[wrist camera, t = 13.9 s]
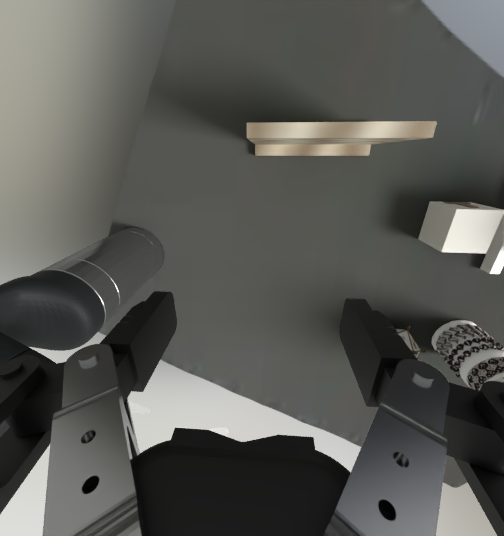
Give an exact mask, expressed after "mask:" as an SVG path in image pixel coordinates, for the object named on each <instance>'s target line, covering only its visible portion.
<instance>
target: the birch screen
mask: <svg viewBox="0 0 504 536" xmlns="http://www.w3.org/2000/svg"><path fill="white" fill-rule="evenodd" d="M436 124H437V121H407V122H269V123H247V139H249V140H250V141H251V142H252V143H254V144H255V156H369V153H370V147H371V144H379V143H388V142H397V141H406V140H415V139H424V138H433V135H434V131H435V128H436Z"/></svg>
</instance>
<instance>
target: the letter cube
mask: <svg viewBox="0 0 504 536" xmlns="http://www.w3.org/2000/svg"><path fill="white" fill-rule="evenodd" d="M503 214H504V210H502V209H498V208H494V207H489V206H485V205H481V204H476V203H472V202H434V201H430V202H429V206H428V209H427V212H426V215H425V218H424V222H423V225H422V228H421V231H420V235H419V238H418V239H419V240H421V241H422V242H424V243H426V244H428V245H430V246H431V247H433V248H435V249H437V250H438V251H440V252H453V253H484V254H486V253H487V250H488V248H489V246H490V244H491V241H492V239H493V237H494V235H495V232H496V230H497V228H498V226H499V223H500V221H501V219H502V217H503Z"/></svg>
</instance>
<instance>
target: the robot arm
mask: <svg viewBox="0 0 504 536" xmlns="http://www.w3.org/2000/svg"><path fill="white" fill-rule="evenodd" d="M163 259H164V254H163V249H162V247H161V245H160V243H159V242H158V240H157V239H156V238H155V237H154V236H153V235H152V234H151V233H149V232H148V231H146V230H144V229H140V228H136V227H130V228H125V229H123V230H121V231H119V232H117V233H115V234H113V235H111V236H109V237H107V238H105V239H103V240H101V241H99V242H97V243H95V244H93V245H91V246H89V247H87V248H85V249H83V250H81V251H79V252H77V253H75V254H73V255H71V256H69V257H67V258H65V259H63V260H61V261H59V262H57V263H55V264H53V265H51V266H50V267H47V268H45V269H43V270H41V271H39V272H37V273H35V274H33V275H31V276H26V277H21V278H17V279H14V280H11V281H9V282H7V283H4V284H2V285H0V514H1V512H2V511H3V509H4V508H5V507H6V505H7V504H8V502H9V501H10V499H11V498H12V497H13V495H14V494H15V492H16V491H17V490H18V488H19V487H20V485H21V484H22V483H23V481H24V480H25V478H26V477H27V475H28V474H29V473H30V471H31V470H32V468H33V467H34V466H35V464H36V463H37V461H38V460H39V458H40V457H41V456H42V454H43V453H44V451H45V450H46V449H47V447H48V446H49V444H50V443H51V444H50V456H49V467H48V480H47V491H46V503H45V514H44V526H43V536H436V530H437V521H438V514H439V505H440V499H441V491H442V483H443V476H444V468H445V460H446V455H449V456H451V457H454V458H455V460H456V462H457V464H458V466H459V467H460V469H461V471H462V473H463V475H464V476H465V478H466V480H467V482H468V484H469V485H470V487H471V489H472V491H473V493H474V494H475V496H476V498H477V500H478V502H479V503H480V505H481V507H482V509H483V511H484V512H485V514H486V516H487V518H488V520H489V521H490V523H491V525H492V527H493V529H494V530H495V532H496V534H497V536H504V383H503V382H498V381H487V382H485V383H483V385H482V386H481V388H480V390H479V391H477V390H474V389H470V388H467V387H463V386H460V385H456V384H453V383H450V382H448V380H447V378H446V377H445V376H444V375H443V374H442V373H441V372H440V371H439V370H438V369H436V368H435V367H433V366H432V365H430V364H428V363H425V362H423V361H420V360H418V359H417V358H416V357H415V355H414V354H413V353H412V351H411V350H410V348H409V347H408V346H407V344H406V343H405V342H404V340H403V339H402V337H401V336H400V335H399V333H398V332H397V331H396V329H395V328H394V326H393V325H392V324H391V322H390V321H389V320H388V318H387V317H385V316H384V315H383V314H381V313H380V312H378V311H373V310H372V309H371V307H370V306H369V304H368V303H367V301H366V300H365V299H346V300H345V303H344V309H343V314H342V319H341V324H340V337H341V341H342V344H343V346H344V349H345V352H346V354H347V357H348V359H349V362H350V364H351V367H352V370H353V372H354V375H355V377H356V380H357V382H358V385H359V388H360V390H361V393H362V395H363V398H364V401H365V403H366V406H369V407H378V410H377V412H376V414H375V417H374V419H373V422H372V424H371V426H370V429H369V431H368V433H367V436H366V438H365V440H364V443H363V445H362V448H361V450H360V452H359V455H358V457H357V460H356V462H355V464H354V467H353V469H352V472H351V473H350V472H349V471H348V470H347V469H346V468H345V467H344V466H342V465H341V464H340V463H339V462H337V461H335V460H334V459H332V458H331V457H329V456H327V455H325V454H323V453H321V452H319V451H316V450H315V446H314V439H313V437H301V436H287V435H276V436H271V437H266V438H261V439H257V440H252V441H247V442H239V441H236V440H234V439H231V438H228V437H226V436H223V435H220V434H218V433H215V432H212V431H209V430H200V429H186V428H175V430H174V433H173V435H172V438H171V440H170V441H165V442H162V443H160V444H157V445H155V446H153V447H150V448H149V449H147V450H145V451H143V452H142V453H140V452H139V448H138V444H137V440H136V435H135V431H134V426H133V421H132V417H131V412H130V408H129V403H128V400H127V398H128V396H129V394H130V392H131V391H137V392H143V390H144V388H145V387H146V385H147V383H148V381H149V379H150V377H151V375H152V374H153V372H154V370H155V368H156V366H157V364H158V362H159V361H160V359H161V357H162V355H163V353H164V351H165V349H166V348H167V346H168V344H169V342H170V340H171V338H172V336H173V335H174V333H175V330H176V326H177V318H176V311H175V305H174V299H173V294H172V293H171V292H160V291H155V292H153V293H152V294H151V295H150V297H149V298H148V299H147V300H146V301H142V302H141V303H139V304H137V305H136V306H134V307H132V308H131V310H130V311H129V312H128V313H127V314H126V316H124V317H123V318H122V319H121V321H120V323H118V324H117V325H116V326H115V327H114V328H113V329H112V331H111V332H110V333H109V334H108V335H107V336H106V337H105V338H104V339H103V340H102V342H101V343H100V344H94V345H90V346H87V347H84V348H82V349H80V350H78V351H77V352H75V353H74V354H73V355H71V356H70V357H69V358H68V359H67V361H66V362H64V363H58V364H56V363H55V362H53V361H52V360H50V359H49V358H47V357H45V356H44V355H42V354H40V353H38V352H37V351H35V350H32V349H31V348H29V347H36V348H42V349H48V350H71V349H74V348H77V347H80V346H82V345H83V344H85V343H86V342H88V341H89V340H90V339H91V338H92V337H93V336H94V335H95V334H96V333H97V332H98V331H99V330H100V329H101V328H102V327H103V326H104V325H105V324H106V323H107V322H108V321H109V320H110V319H111V318H112V317H113V316H114V315H115V313H116V312H117V311H118V310H119V309H120V308H121V307H122V306H123V305H124V304H125V303H126V302H127V301H128V300H129V299H130V298H131V297H132V296H133V295H134V294H135V293H136V292H137V291H138V290H139V289H140V288H141V287H142V286H143V285H144V284H145V283H146V282H147V281H148V280H149V279H150V278H151V277H152V276H153V275H154V274H155V273H156V272H157V270H158V269H159V268H160V267H161V265H162V263H163Z"/></svg>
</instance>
